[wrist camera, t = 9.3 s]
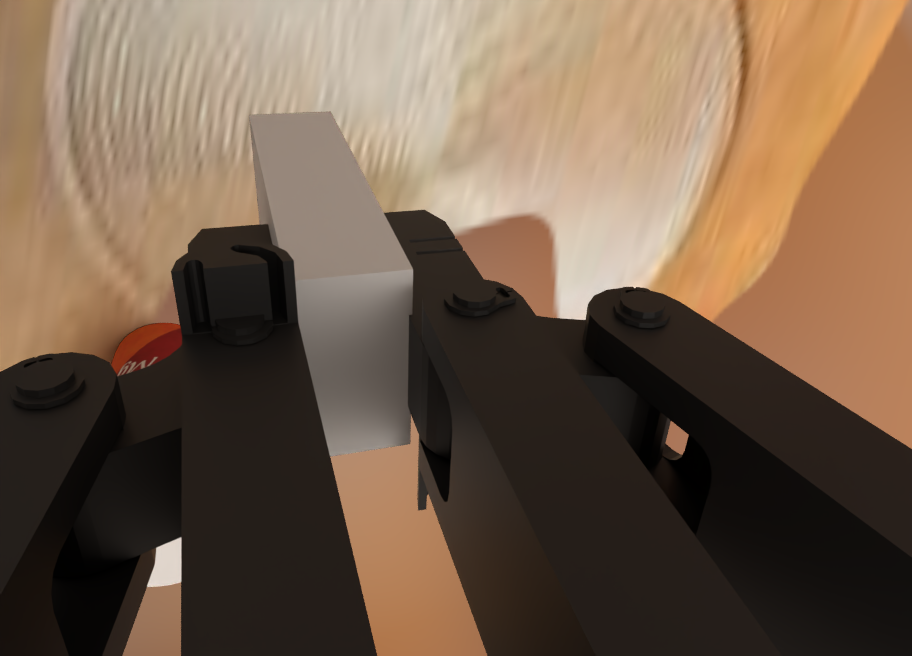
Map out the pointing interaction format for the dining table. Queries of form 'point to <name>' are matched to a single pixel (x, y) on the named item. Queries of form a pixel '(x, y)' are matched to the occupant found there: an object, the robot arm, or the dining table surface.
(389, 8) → the dining table surface
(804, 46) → the dining table surface
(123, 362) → the paper cup
